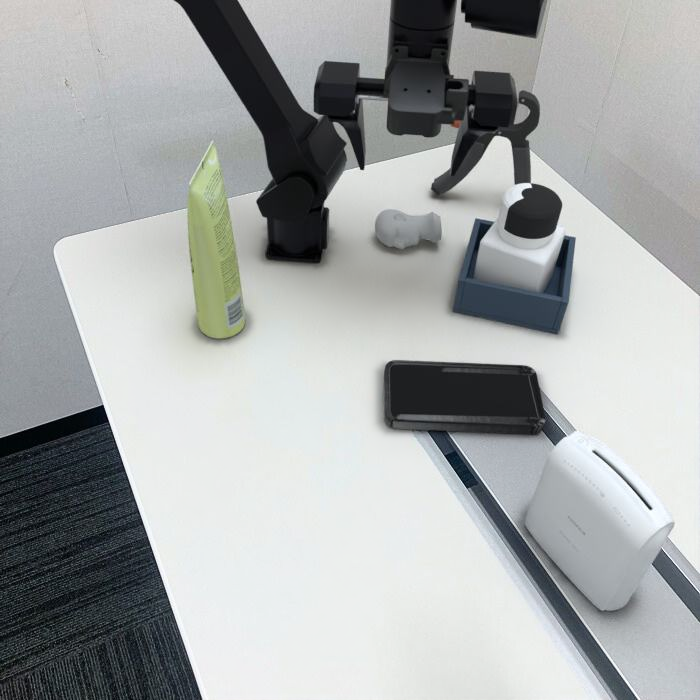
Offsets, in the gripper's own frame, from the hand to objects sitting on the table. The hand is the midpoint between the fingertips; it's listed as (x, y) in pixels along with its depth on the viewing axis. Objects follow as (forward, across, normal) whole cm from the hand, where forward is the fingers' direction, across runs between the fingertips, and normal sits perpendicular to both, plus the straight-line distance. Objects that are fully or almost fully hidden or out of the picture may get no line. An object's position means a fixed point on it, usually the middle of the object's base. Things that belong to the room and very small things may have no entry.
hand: (407, 171), depth 77 cm
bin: (+13, +13, -2) cm, 18 cm away
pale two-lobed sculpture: (+13, +1, +5) cm, 14 cm away
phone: (+13, +7, -19) cm, 24 cm away
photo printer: (+13, +16, -35) cm, 41 cm away
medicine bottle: (+13, +13, -2) cm, 18 cm away
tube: (+13, -18, -11) cm, 25 cm away
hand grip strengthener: (+13, +10, +15) cm, 22 cm away
